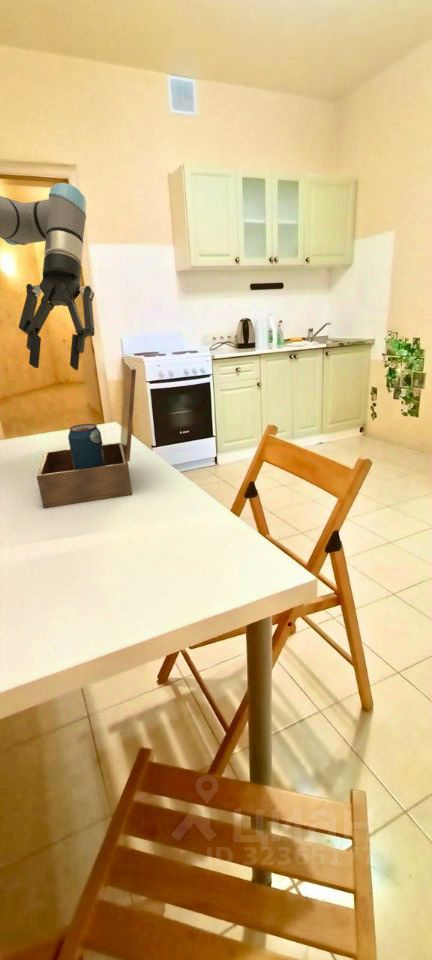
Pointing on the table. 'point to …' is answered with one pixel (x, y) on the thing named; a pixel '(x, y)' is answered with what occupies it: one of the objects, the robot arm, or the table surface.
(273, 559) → the table surface
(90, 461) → the soda can
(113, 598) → the table surface
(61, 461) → the brown wooden open box
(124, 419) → the lid
